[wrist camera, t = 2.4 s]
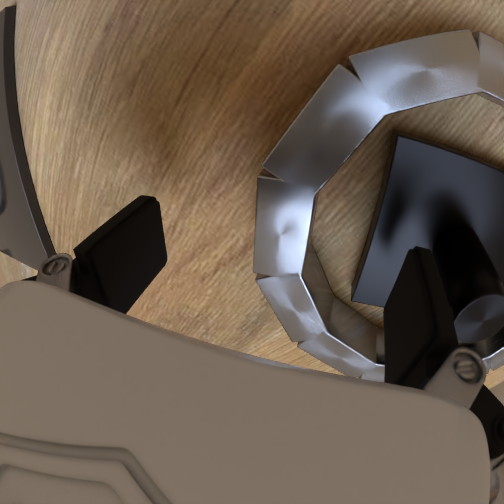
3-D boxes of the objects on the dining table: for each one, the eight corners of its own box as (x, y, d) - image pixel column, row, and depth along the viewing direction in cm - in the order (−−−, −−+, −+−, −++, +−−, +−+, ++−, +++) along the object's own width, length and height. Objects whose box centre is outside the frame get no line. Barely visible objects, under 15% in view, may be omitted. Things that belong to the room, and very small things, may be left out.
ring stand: (392, 129, 9) (426, 172, 5) (539, 185, 8) (597, 247, 4) (351, 287, 14) (343, 371, 10) (476, 312, 12) (494, 386, 8)
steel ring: (282, 2, 7) (265, -16, 5) (602, 137, 4) (631, 156, 2) (260, 324, 18) (248, 357, 16) (487, 362, 14) (493, 392, 12)
